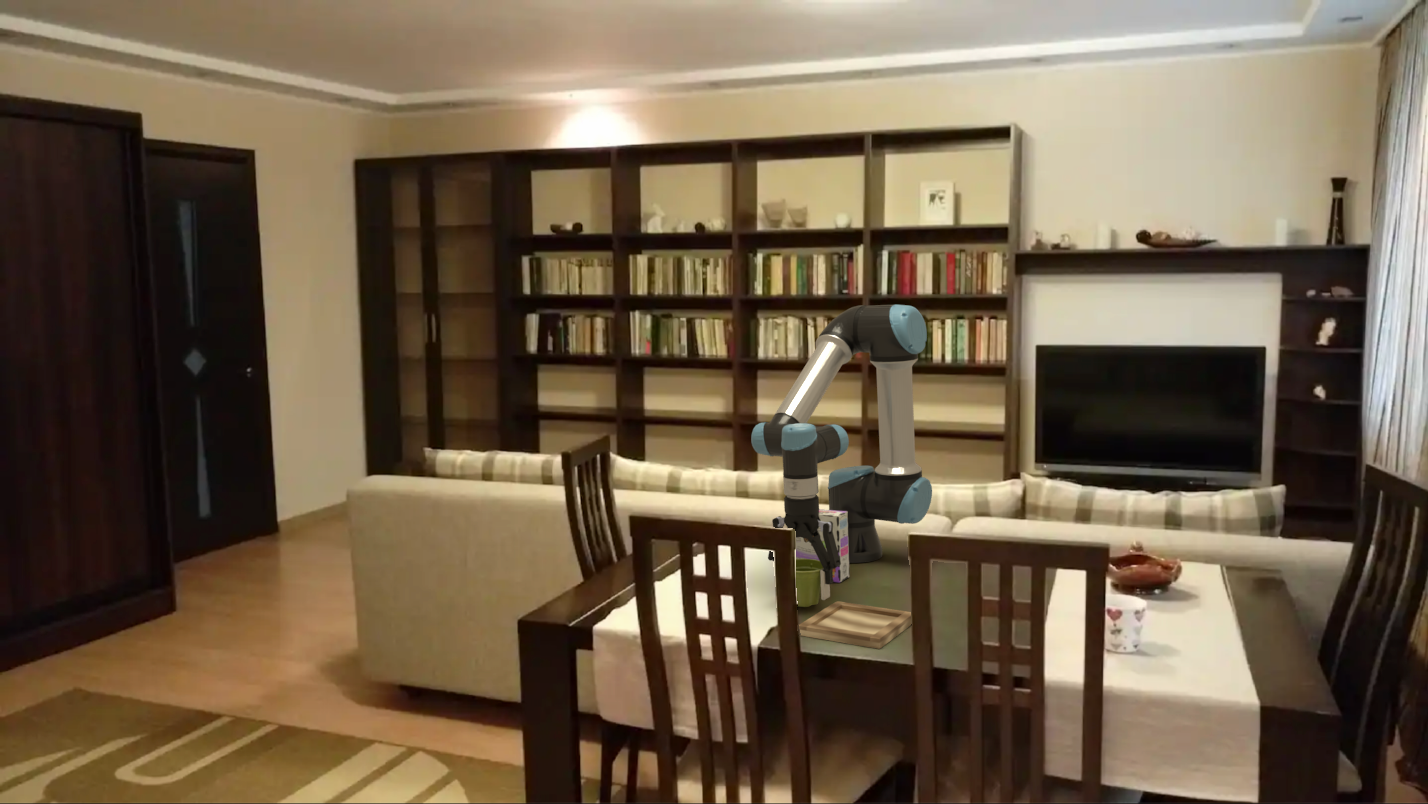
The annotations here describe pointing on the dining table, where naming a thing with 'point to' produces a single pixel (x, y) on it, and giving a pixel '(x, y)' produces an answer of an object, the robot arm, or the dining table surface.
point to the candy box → (841, 539)
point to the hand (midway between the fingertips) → (805, 594)
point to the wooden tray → (856, 624)
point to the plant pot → (808, 581)
